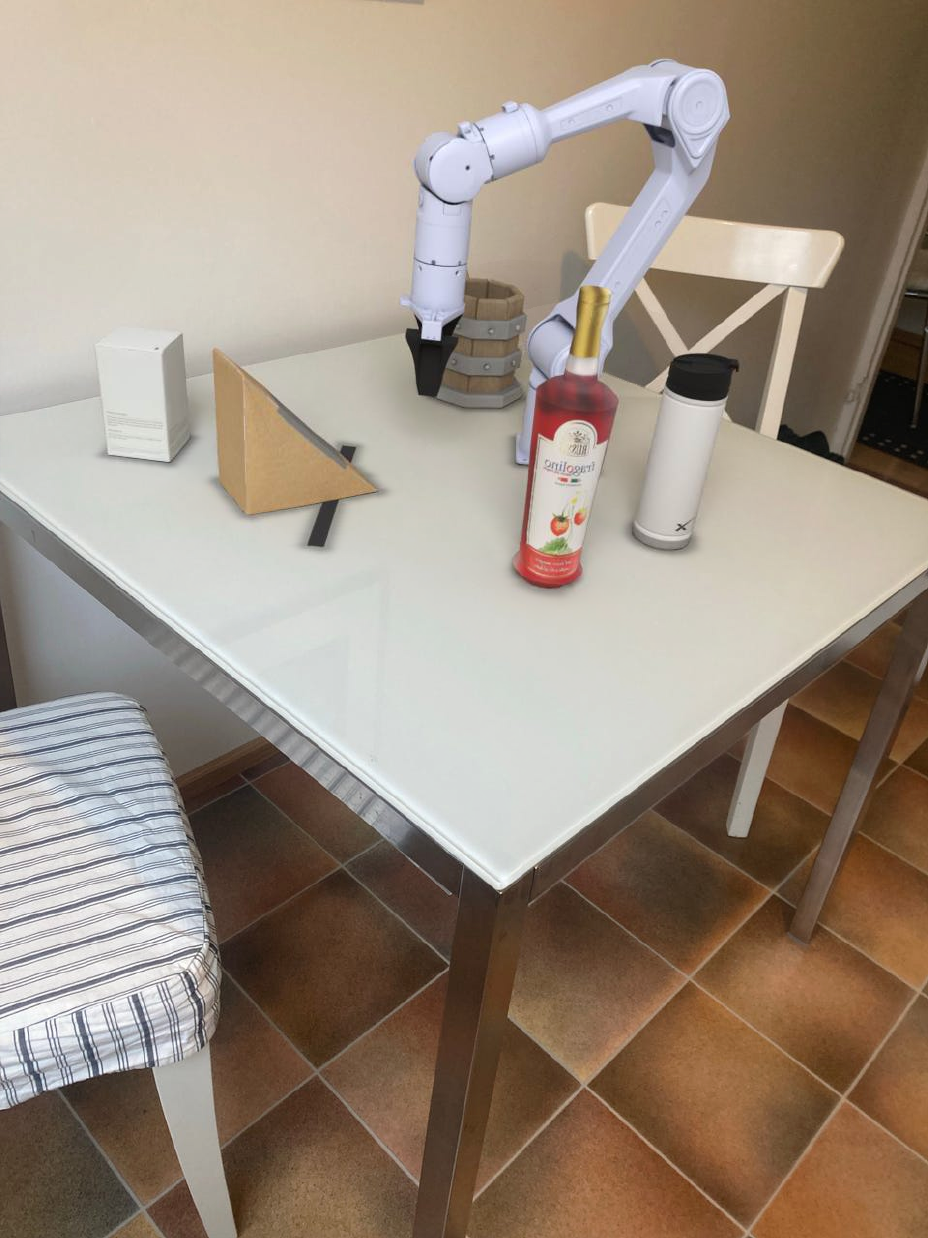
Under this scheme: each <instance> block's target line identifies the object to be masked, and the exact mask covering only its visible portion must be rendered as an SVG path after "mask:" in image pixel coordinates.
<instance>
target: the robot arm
mask: <svg viewBox="0 0 928 1238" xmlns="http://www.w3.org/2000/svg"><path fill="white" fill-rule="evenodd" d="M500 108H501V111H500V112H497V113H495V114H493V115H490V116H488V117H484V118H483V119H480V120H477V121H475V122H473V123H470V122H469V121H467V120H464V121H462V122H459V123H457V132H456V134H454V133H453V132H450V131H449V132H448V131H447V130H446V131H437V132H434V133H431V134H429V135H428V136H427V137H426V138H425V139H424V140H423V143H422V144H420V145H419V147H418V149H417V151H416V155H415V157H413V158H412V169H413V172H414V175H415V177H416V179H417V181H418V182H419V183H420V184H419V187H418V188H419V189H418V200H417V201H418V203H417V210H416V216H415V218H416V219H415V231H414V245H413V261H412V275H411V289H410V295H409V294H401V295H400V297H399V301H398V302H399V303H398V304H399V306H401V307H407V308H409V309H410V310H411V312H412V313H413V316H414V318H415V322H416V324H417V328H410V327H407V328H406V330H405V332H404V333H405V336H404V338H405V341H406V344H407V347H408V349H409V351H410V354H411V357H412V361H413V366H414V376H415V384H416V385H415V386H416V390H417V395H418V396H420V397H421V396H423V397H432V398H434V397H437V395H438V392H439V389H440V386H441V382H442V378H443V374H444V370H445V367H446V364H447V362H448V360H449V357H450V356H451V354H452V352H453V351H454V349H455V347H456V346H457V344H458V340H459V337H454V336H452V334H453V332H454V330H455V327H456V325H457V324H458V322H459V320H460V319H461V317H462V314H463V312H464V310H465V303H464V302H463V301H464V291H465V281H466V271H468V258H469V251H470V250H469V249H470V241H471V240H470V239H471V230H472V221H473V220H472V218H473V217H472V211H473V201H474V199H475V197H476V196H477V195H478V194H479V193H480V192H481V190H482V187H483V186H484V184H485V185H489V184H491V183H493V182H495V181H498V180H501V179H503V178H505V177H508V176H510V175H513V174H516V173H518V172H520V171H522V170H526V169H528V168H530V167H533V166H535V165H537V164H540V163H543V161H545V158H546V157H547V155H548V153H549V151H550V148H551V147H552V145H554V144H556V143H559V142H562V141H564V140H568V139H571V138H574V137H576V136H579V135H583V134H585V133H588V132H591V131H594V130H597V129H600V128H603V127H605V126H609V125H611V124H614V123H617V122H620V121H624V120H628V121H631V122H632V121H633V122H636V123H641V125H642V126H643V128H644V130H645V132H646V134H647V136H648V138H649V140H650V144H651V149H652V150H651V151H652V155H653V160H654V161H653V162H654V169H653V171H652V173H651V175H650V176H649V178H648V180H646V182H645V184H644V185H643V187H642V189H641V190H640V192H639V193H638V195H637V196H636V198H635V199H634V201H633V203H632V204H631V206H630V208H629V209H628V210H627V212H626V213H625V215H624V217H623V218H622V220H621V221H620V223H619V224H618V226H617V228H616V229H615V230H614V232H613V234H612V235H611V237H610V238H609V240H608V241H607V243H606V244H605V247H604V248H603V249H602V251H601V252H600V254H599V256H597V258H596V260H595V262H594V264H593V265H592V266H591V267H590V269H589V271H588V272H587V274H586V276H585V277H584V279H583V280H582V282H581V284H580V285H579V286H578V288H577V290H576V291H575V293H574V294H573V295H572V296H570V297H568V298H566V299H564V300H562V301H560V302H559V303H557V304H555V306H554V308H553V309H552V310H551V312H550V314H548V315H547V316H546V317H545V318H544V319H542V320H541V321H539V322H538V323H537V324H535V325H534V326H533V327H532V329H531V330H530V331H529V333H528V335H527V339H526V342H525V343H526V344H525V351H526V355H527V357H528V359H529V361H530V362H531V363H532V369H531V373H530V375H529V378H528V383H527V392H526V398H525V405H524V413H523V420H522V427H521V432H520V433H518V434H516V435H515V463H517V464H519V465H528V466H529V455H530V443H531V434H532V425H533V417H534V407H535V397H536V388H537V387H538V386H539V385H540V384H542V383H543V382H545V381H547V380H548V379H550V378H552V377H554V376H559V375H564V371H565V367H566V363H567V359H568V355H569V351H570V347H571V343H572V339H573V335H574V331H575V327H576V308H577V302H578V296H579V290H580V287H581V286H599V287H603V288H606V289H608V290H610V291H611V298H610V304H609V309H608V314H607V316H606V319H605V322H604V324H603V327H602V332H601V344H600V355H599V367H598V378H597V380H598V381H600V378H601V376H602V374H603V370H604V364H605V361H606V358H607V357H608V354H609V353H610V351H611V350H612V348H613V345H614V337H613V335H614V332H613V331H614V327H613V326H614V322H615V320H616V319H617V317H618V316H619V314H620V312H621V311H622V310H623V309H624V306H625V305H626V304H627V302H628V301H629V299H630V298H631V296H632V295H633V293H634V291H635V290H636V289H637V287H638V286H639V284H640V283H641V281H642V280H643V279H644V277H645V275H646V274H647V272H648V271H649V269H650V268H651V266H652V265H653V263H654V262H655V260H656V259H657V257H658V256H659V254H660V253H661V251H662V249H663V248H664V247H665V245H666V243H667V242H668V241H669V239H670V238H671V236H672V235H673V233H674V232H675V230H676V229H677V227H678V226H679V225H680V223H681V222H682V220H683V218H684V216H685V215H686V213H687V212H688V211H689V209H690V208H691V206H692V205H693V203H694V202H695V200H697V197H698V195H699V194H700V192H701V191H702V189H703V188H704V187H705V185H707V182H708V180H709V178H710V175H711V173H712V167H713V162H714V158H715V155H716V151H717V150H716V148H717V146H718V141H719V138H720V137H719V136H720V133H722V130H723V129H724V128H725V126H726V125H727V123H728V121H729V120H730V118H731V115H730V114H731V113H730V108H729V102H728V95H727V89H726V86H725V84H724V81H723V79H722V78H721V77H720V75H719V74H717V73H716V72H715V71H713V70H711V69H708V68H697V67H694V66H690V65H686V64H683V63H679V62H677V61H676V60H674V59H671V58H659V59H656V60H654V61H652V62H650V63H649V64H648V65H646V64H641V65H635V66H632V67H631V68H628V69H626V70H625V71H622V73H619V74H617V75H615V76H613V77H611V78H608V79H607V80H606V79H605V80H604V81H602V82H600V83H597V84H595V85H593V86H591V87H589V88H587V89H585V90H583V91H580V92H578V93H576V94H574V95H572V96H569V97H567V98H565V99H562V100H560V101H558V102H556V103H554V104H552V105H550V106H548V107H545V108H543V109H538V108H536V107H535V106H533V105H531V104H530V103H528V102H522V103H520V104H518V103H517V102H516V101H514V100H509V101H506V102H504V103H502V104H501V105H500Z"/></svg>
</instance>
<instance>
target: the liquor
mask: <svg viewBox="0 0 928 1238" xmlns="http://www.w3.org/2000/svg"><path fill="white" fill-rule="evenodd" d="M579 287H580V286H579ZM610 298H611V291H610V290H608V289H606V288H603V287H599V286H581V287H580V290H579V296H578V302H577V308H576V327H575V331H574V335H573V339H572V343H571V347H570V351H569V355H568V359H567V363H566V367H565V371H564V375H559V376H554V377H552V378H550V379H548V380H547V381H545V382H543V383H542V384H540V385H539V386H538V387H537V388H536V397H535V407H534V417H533V425H532V434H531V443H530V455H529V465H528V467H527V480H526V481H527V482H526V490H525V491H526V492H525V499H524V509H523V517H522V525H521V533H520V541H519V549H518V551H517V552H516V554H515V555H514V556H513V557H512V565H513V567H514V568H515V570H516V571H517V572H518V573H519V574H520V575H521V577H522V578H523V579H524V580H525V581H526V582H527V583H529V584H530V585H533V586H535V587H537V588H542V589H559V588H562V587H564V586H565V585H568V584H570V583H572V582H574V581H576V580H577V579H579V578H580V577H581V576H582V574H583V566H582V563H581V557H582V551H583V547H584V542H585V539H586V534H587V530H588V525H589V522H590V518H591V517H590V516H591V513H592V508H593V504H594V500H595V496H596V492H597V488H598V486H599V485H598V484H599V481H600V478H601V473H602V470H603V466H604V463H605V459H606V456H607V451H608V447H609V443H610V439H611V434H612V430H613V427H614V426H613V425H614V421H615V418H616V414H617V411H618V406H619V398H618V396H617V395H616V394H615V393H614V391H613V390H612V389H611V388H610V387H609V386H608V385H607V384H606V383H604V382H602V381H600V380H597V378H598V367H599V355H600V344H601V332H602V327H603V324H604V322H605V319H606V316H607V314H608V309H609V304H610Z"/></svg>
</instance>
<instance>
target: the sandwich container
mask: <svg viewBox="0 0 928 1238" xmlns="http://www.w3.org/2000/svg"><path fill="white" fill-rule="evenodd" d="M212 368H213V369H212V371H213V386H214V387H213V388H214V390H213V391H214V408H215V409H214V410H215V411H214V412H215V429H216V447H217V448H216V449H217V463H218V465H217V467H218V481H219V483H220V484H221V486H222V487H223V489H225V491H226V492H227V493H228V495H229V496H230V497H231V498H232V500H234V502H235V503H236V505H238V506H239V508H240V509H241V510H242V511H243V513H244V514H245V515H246V516H250V515H255V514H263V513H268V512H274V511H279V510H286V509H287V510H288V509H292V508H298V507H305V506H310V505H314V504H319V503H322V502H325V501H330V500H335V499H339V500H340V499H345V498H350V497H354V496H360V495H365V494H370V493H371V494H372V493H376V492H378V489H377V488H376V487H375V486H374V485H373V484H372V483H371V482H370V481H369V480H368V479H367V478H366V477H365V476H364V474H363V473H361V472H360V470H358V469H357V468H356V467H355V466H354V465H353V464H352V462H351V463H350V462H349V461H348V460H347V459H346V458H345V457H344V456H343V455H342V454H341V453H340V451H339V450H338V449H336V448H335V447H334V446H333V445H332V444H330V443H329V442H328V441H326V440H325V439H324V438H323V437H322V436H320V435H319V434H318V433H317V432H315V430H312V428H310V427H309V426H308V425H307V424H306V423H305V422H304V421H303V420H301V419H300V417H298V416H297V414H295V413H294V412H293V411H291V409H289V408H288V407H287V406H286V405H285V404H284V403H282V402H281V401H280V400H279V399H278V398H277V397H276V396H275V395H274V394H273V393H272V392H271V391H270V390H269V389H267V387H265V385H263V384H262V383H261V382H259V381H258V380H257V379H256V378H255V377H253V376H252V375H251V374H250V373H248V372H247V371H246V370H245V369H243V368H242V367H241V366H239V365H238V364H237V363H236V361H233V360H232V359H231V358H230V357H228V356H227V354H225V353H223V352H222V351H221V350H219V349H218V348H217V347H214V348H213V349H212Z"/></svg>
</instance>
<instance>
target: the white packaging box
mask: <svg viewBox="0 0 928 1238" xmlns="http://www.w3.org/2000/svg"><path fill="white" fill-rule="evenodd" d="M183 334H184V333H183V332H182V331H175V330H167V329H157V328H150V327H141V326H134V325H128V324H127V325H126V324H119V325H117V326H116V327H115V328H114V329H113V330H112V331H110V332H109V333H107V335H105V336H104V337H103V338H102V339H100V340H99V341H98V342H96V343H95V344H94V345H93V350H94V356H95V357H94V358H95V364H96V371H97V378H98V379H97V380H98V388H99V397H100V404H101V413H102V420H103V429H104V435H105V443H106V451H107V455H109V456H118V457H123V458H135V459H141V460H149V461H157V462H165V463H171V461H172V460H174V458H175V457H176V456H177V454H178V453H179V452H180V451H181V450H182V449H183V447H184V446H185V445H186V443H187V442H188V441H189V440H190V438H191V431H190V430H191V429H190V417H189V415H190V414H189V404H188V403H189V402H188V388H187V375H186V361H185V359H186V358H185V348H184V335H183Z"/></svg>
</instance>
